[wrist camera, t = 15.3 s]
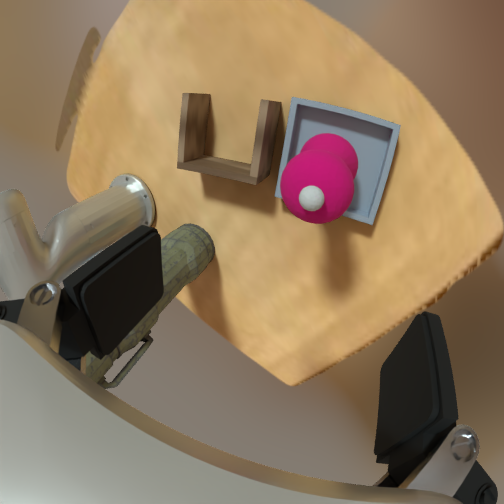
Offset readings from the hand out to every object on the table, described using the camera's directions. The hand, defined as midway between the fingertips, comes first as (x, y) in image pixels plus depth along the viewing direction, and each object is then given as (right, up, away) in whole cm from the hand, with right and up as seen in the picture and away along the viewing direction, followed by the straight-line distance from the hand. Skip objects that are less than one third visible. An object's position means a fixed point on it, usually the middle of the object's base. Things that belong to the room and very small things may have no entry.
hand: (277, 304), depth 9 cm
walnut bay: (-3, +20, +29) cm, 35 cm away
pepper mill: (+10, +14, +25) cm, 31 cm away
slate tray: (+11, +15, +26) cm, 31 cm away
